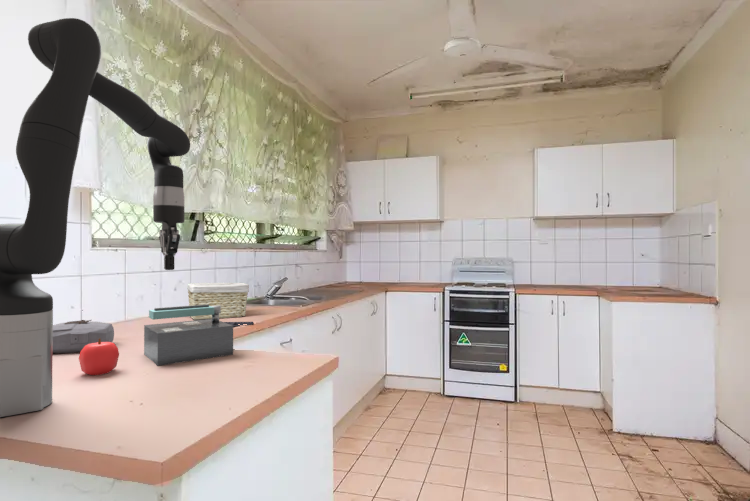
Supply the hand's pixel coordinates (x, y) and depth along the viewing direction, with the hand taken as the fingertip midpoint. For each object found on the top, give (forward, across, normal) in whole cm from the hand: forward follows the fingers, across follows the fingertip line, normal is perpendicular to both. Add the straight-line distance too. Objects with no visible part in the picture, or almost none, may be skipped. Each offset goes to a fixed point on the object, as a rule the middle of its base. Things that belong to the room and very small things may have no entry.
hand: (169, 269), depth 115 cm
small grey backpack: (+24, +29, +20) cm, 42 cm away
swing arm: (+13, +3, -5) cm, 14 cm away
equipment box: (+24, +1, -5) cm, 24 cm away
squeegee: (+25, +37, -29) cm, 53 cm away
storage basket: (+25, +68, -35) cm, 80 cm away
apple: (+24, -6, +16) cm, 29 cm away
